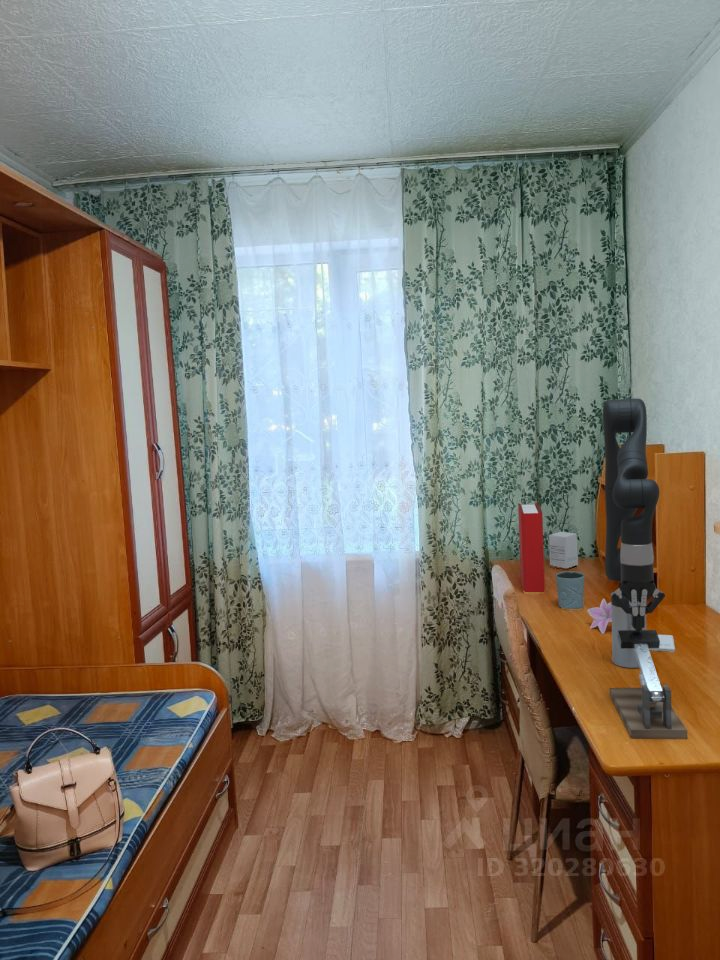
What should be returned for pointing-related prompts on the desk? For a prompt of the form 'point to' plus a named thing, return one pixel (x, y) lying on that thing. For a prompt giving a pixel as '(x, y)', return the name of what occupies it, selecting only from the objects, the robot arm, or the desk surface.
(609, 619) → the lily
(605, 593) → the desk surface
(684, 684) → the desk surface
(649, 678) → the lever
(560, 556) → the supplement box
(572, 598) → the blue plant pot
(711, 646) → the desk surface
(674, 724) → the base
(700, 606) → the desk surface
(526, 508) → the book
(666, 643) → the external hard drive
